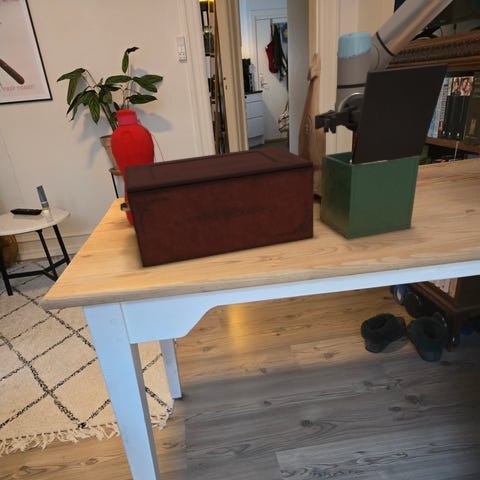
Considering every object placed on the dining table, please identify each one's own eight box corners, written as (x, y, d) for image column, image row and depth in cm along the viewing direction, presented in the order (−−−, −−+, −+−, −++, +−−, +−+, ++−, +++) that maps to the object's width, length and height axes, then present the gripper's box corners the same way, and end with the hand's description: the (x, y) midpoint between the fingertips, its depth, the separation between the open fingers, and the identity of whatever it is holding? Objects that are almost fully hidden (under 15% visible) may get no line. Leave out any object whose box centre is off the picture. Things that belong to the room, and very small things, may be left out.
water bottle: (171, 224, 98) (150, 108, 85) (126, 228, 99) (98, 113, 86) (175, 212, 106) (157, 105, 93) (134, 216, 107) (109, 109, 94)
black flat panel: (367, 71, 63) (369, 72, 62) (446, 62, 65) (449, 64, 64) (351, 163, 73) (353, 165, 73) (419, 153, 76) (421, 155, 75)
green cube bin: (320, 219, 92) (321, 155, 85) (376, 210, 94) (381, 147, 87) (348, 239, 80) (351, 166, 73) (410, 227, 83) (420, 156, 75)
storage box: (285, 207, 102) (283, 142, 94) (323, 236, 83) (324, 158, 75) (129, 232, 96) (113, 165, 88) (131, 269, 77) (111, 188, 69)
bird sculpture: (283, 201, 106) (278, 56, 90) (299, 190, 115) (297, 55, 98) (324, 204, 101) (327, 50, 85) (338, 191, 110) (343, 49, 93)
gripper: (410, 125, 95) (438, 139, 77) (302, 133, 98) (304, 149, 81) (414, 88, 91) (444, 94, 73) (301, 98, 95) (304, 106, 77)
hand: (371, 122), depth 77 cm, fingers open, 13 cm apart
